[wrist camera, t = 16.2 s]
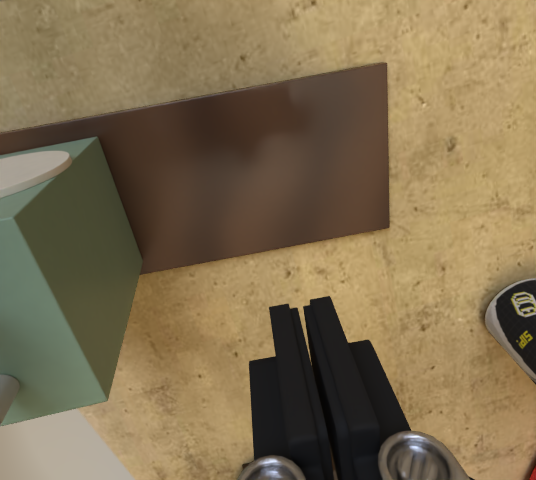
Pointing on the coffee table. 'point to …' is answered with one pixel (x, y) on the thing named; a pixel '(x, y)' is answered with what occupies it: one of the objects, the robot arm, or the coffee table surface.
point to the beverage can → (516, 323)
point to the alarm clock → (533, 474)
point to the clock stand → (243, 165)
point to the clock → (61, 279)
